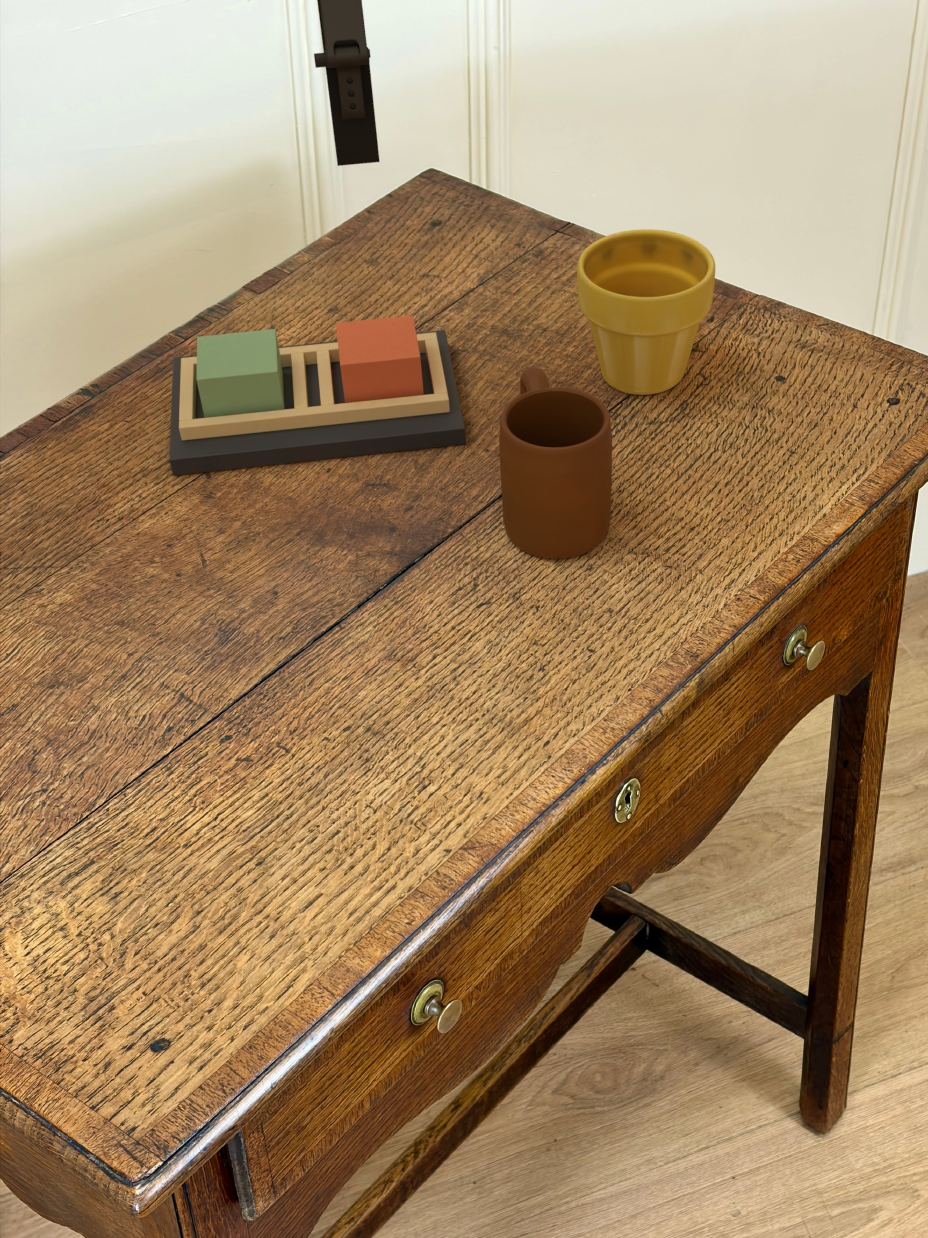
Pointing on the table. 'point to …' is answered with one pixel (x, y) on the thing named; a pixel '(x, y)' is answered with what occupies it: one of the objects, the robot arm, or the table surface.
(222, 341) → the green block
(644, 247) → the flower pot
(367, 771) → the table surface
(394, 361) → the terracotta cube
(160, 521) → the table surface
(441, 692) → the table surface
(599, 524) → the mug
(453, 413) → the backing plate
